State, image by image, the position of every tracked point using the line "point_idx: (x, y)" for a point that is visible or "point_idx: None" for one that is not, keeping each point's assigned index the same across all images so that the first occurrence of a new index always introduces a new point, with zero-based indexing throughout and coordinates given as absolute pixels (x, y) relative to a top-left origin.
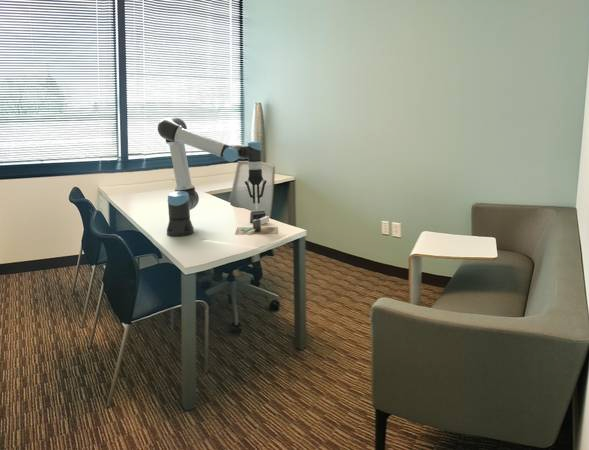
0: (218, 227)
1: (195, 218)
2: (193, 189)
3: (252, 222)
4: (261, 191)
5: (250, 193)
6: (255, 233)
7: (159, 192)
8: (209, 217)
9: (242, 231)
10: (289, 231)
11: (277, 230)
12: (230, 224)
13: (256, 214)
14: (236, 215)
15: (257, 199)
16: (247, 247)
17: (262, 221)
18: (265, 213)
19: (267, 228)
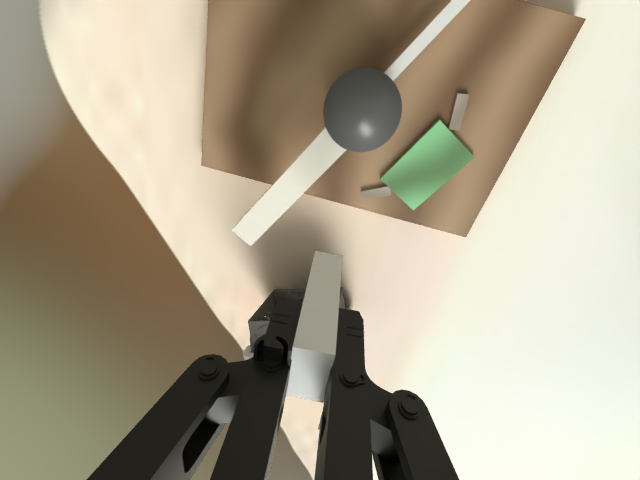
0: (549, 306)
1: (566, 467)
2: None
3: (342, 299)
4: (157, 468)
5: (426, 474)
6: (398, 6)
7: None
8: (497, 460)
9: (476, 114)
10: (131, 71)
11: (208, 63)
12: (454, 339)
13: None
14: None
15: (298, 333)
16: None
17: (300, 154)
18: (248, 321)
19: (274, 148)
